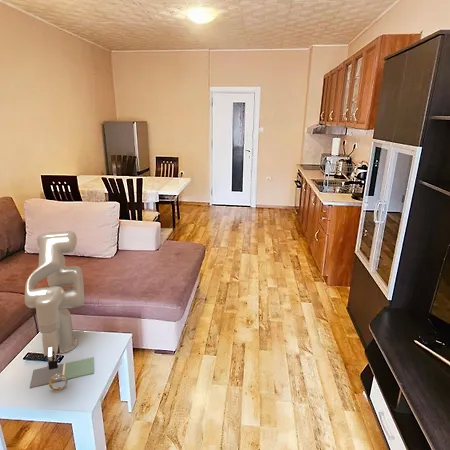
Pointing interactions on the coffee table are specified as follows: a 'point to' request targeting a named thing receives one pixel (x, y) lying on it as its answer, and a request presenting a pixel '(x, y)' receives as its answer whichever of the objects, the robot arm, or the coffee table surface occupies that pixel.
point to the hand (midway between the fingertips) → (54, 360)
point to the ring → (57, 376)
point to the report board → (63, 372)
